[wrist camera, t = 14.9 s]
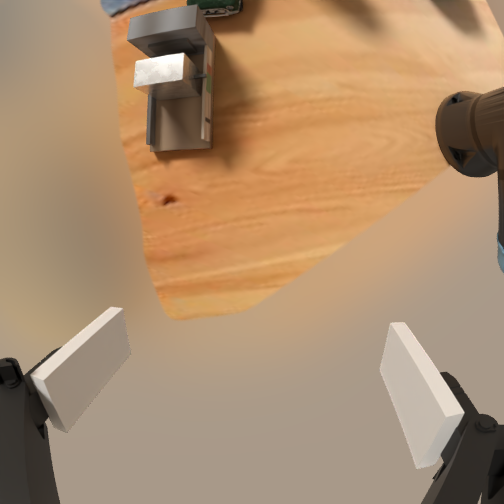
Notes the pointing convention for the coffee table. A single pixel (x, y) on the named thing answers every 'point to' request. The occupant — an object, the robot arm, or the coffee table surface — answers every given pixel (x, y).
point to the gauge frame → (202, 55)
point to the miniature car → (217, 6)
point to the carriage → (168, 77)
